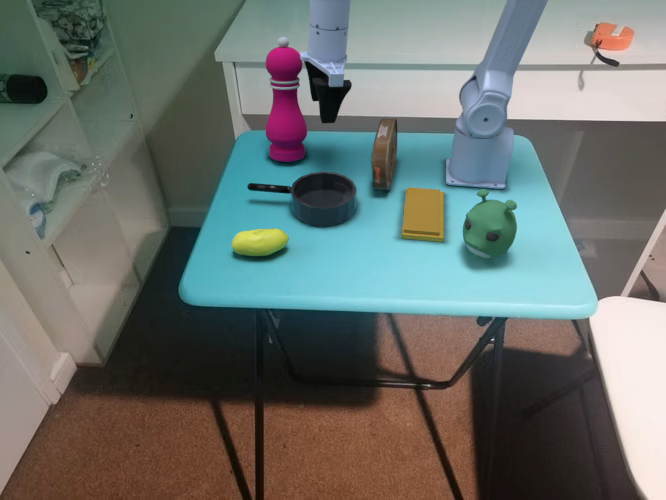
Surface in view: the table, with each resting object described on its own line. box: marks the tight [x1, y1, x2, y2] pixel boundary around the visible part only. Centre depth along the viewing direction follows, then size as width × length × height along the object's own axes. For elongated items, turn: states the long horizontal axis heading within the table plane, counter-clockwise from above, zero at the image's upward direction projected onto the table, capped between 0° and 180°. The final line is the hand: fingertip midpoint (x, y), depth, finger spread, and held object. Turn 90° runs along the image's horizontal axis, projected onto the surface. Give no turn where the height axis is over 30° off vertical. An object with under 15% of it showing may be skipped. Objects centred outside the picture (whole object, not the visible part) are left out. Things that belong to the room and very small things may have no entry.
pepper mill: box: [265, 36, 308, 163], centre depth 91 cm, size 7×7×20 cm
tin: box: [370, 118, 398, 191], centre depth 89 cm, size 15×3×8 cm, turn 168°
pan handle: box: [246, 182, 292, 195], centre depth 84 cm, size 7×1×1 cm, turn 81°
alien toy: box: [462, 188, 518, 260], centre depth 72 cm, size 7×8×10 cm
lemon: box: [230, 228, 290, 257], centre depth 75 cm, size 4×8×4 cm, turn 95°
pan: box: [290, 171, 358, 228], centre depth 83 cm, size 10×10×4 cm
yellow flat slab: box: [401, 186, 445, 243], centre depth 82 cm, size 6×12×1 cm, turn 171°
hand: (323, 110), depth 86 cm, fingers open, 7 cm apart
